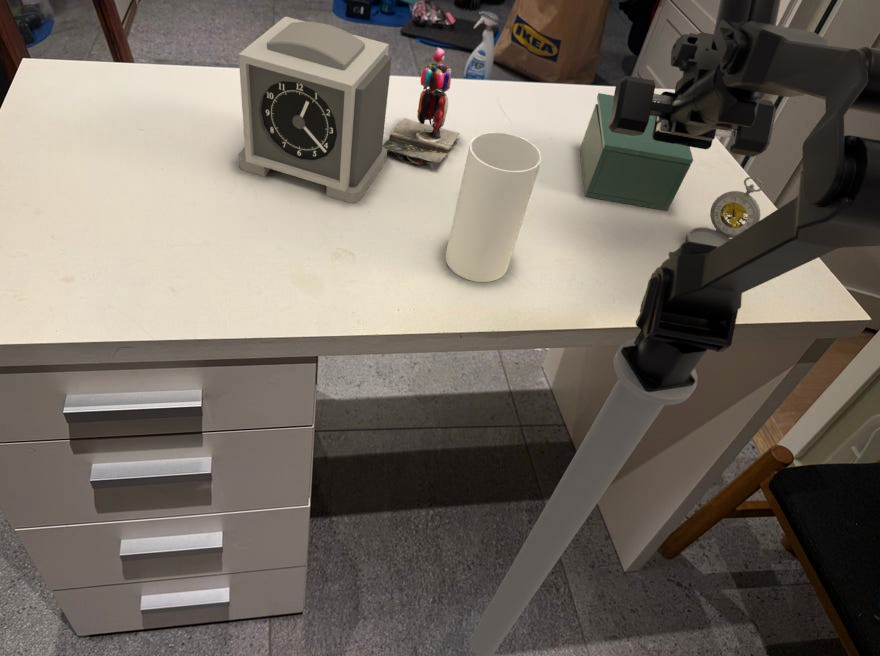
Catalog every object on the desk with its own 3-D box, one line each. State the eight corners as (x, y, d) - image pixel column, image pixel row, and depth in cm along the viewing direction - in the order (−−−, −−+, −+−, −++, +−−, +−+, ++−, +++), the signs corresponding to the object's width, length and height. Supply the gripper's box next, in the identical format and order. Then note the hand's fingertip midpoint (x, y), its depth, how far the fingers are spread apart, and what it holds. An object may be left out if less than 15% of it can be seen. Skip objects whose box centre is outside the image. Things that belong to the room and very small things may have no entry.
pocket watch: (686, 256, 92) (721, 195, 84) (683, 221, 97) (715, 161, 90) (745, 270, 91) (785, 210, 84) (738, 234, 97) (776, 175, 89)
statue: (402, 130, 107) (417, 31, 98) (457, 145, 106) (477, 47, 96) (378, 154, 99) (392, 50, 89) (437, 171, 98) (457, 67, 88)
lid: (596, 97, 102) (598, 92, 101) (676, 111, 102) (679, 106, 101) (602, 149, 93) (604, 144, 92) (691, 165, 93) (693, 160, 92)
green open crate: (579, 148, 108) (595, 103, 102) (655, 162, 108) (676, 117, 102) (584, 196, 99) (602, 149, 93) (667, 210, 99) (690, 165, 93)
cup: (434, 265, 84) (457, 154, 72) (460, 233, 89) (486, 123, 77) (493, 291, 82) (527, 181, 70) (516, 256, 87) (551, 147, 75)
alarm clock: (235, 167, 93) (224, 35, 79) (276, 125, 102) (273, -2, 88) (356, 204, 91) (367, 74, 77) (388, 157, 99) (402, 33, 86)
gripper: (819, 35, 72) (744, 87, 87) (649, 6, 72) (605, 63, 87) (798, 138, 72) (728, 171, 88) (630, 109, 72) (590, 147, 88)
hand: (663, 136), depth 88 cm, fingers closed
